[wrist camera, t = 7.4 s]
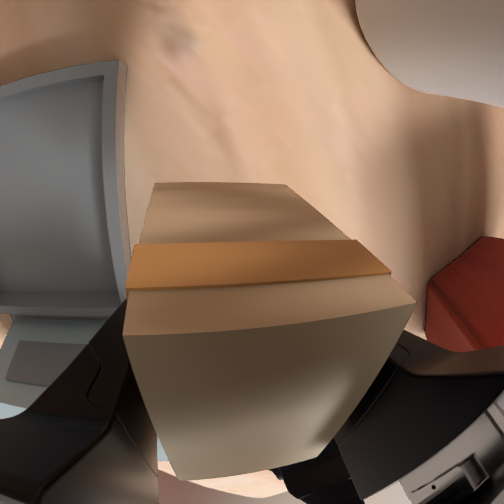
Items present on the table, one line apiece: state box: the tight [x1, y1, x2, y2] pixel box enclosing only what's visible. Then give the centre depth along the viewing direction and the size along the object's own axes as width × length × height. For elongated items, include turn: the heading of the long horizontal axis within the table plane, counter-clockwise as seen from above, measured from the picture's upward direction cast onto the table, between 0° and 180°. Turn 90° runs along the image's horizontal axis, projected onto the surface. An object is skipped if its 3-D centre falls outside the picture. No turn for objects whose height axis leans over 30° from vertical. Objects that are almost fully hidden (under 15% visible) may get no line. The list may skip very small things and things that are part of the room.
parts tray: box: [0, 60, 131, 316], centre depth 14 cm, size 15×17×2 cm
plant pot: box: [425, 236, 504, 352], centre depth 26 cm, size 19×19×17 cm
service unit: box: [0, 314, 169, 461], centre depth 18 cm, size 15×9×10 cm, turn 85°
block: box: [123, 182, 417, 481], centre depth 7 cm, size 4×6×6 cm
